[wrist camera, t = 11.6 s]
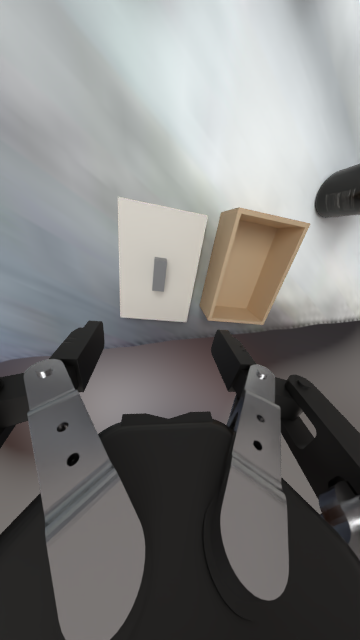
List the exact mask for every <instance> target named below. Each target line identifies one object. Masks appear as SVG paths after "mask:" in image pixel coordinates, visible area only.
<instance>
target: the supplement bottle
mask: <svg viewBox="0 0 360 640" xmlns="http://www.w3.org/2000/svg"><path fill="white" fill-rule="evenodd" d="M316 210H317V212H318V213H319V215H321V216H322V217H339V216H349V215H360V164H358V165H355V166H352V167H349V168H346V169H343V170H340V171H338V172H336V173H334V174H333V175H331V176H330V177H329V178H328V179H327V180H326V181H325V182H324V183H323V185H322V186H321V188H320V190H319V192H318V195H317V198H316Z"/></svg>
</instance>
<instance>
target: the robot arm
mask: <svg viewBox="0 0 360 640" xmlns="http://www.w3.org/2000/svg"><path fill="white" fill-rule="evenodd" d="M103 348H104V330H103V323H102V321H88V322H87V324H86V325H85V326H84V328H78V329H76V330H74V331H73V332H71V333H70V335H69V336H68V337H67V338H66V339H65V340H64V342H63V343H62V344H61V345H60V346H59V348H58V349H57V350H56V351H55V352H54V353H53V355H52V356H51V357H50V358H49V359H48V360H44V361H40V362H38V363H35V364H34V365H32V366H31V367H29V368H28V369H27V370H26V371H25V373H21V374H16V375H11V376H5V377H0V448H1V447H2V445H3V443H4V442H5V441H6V439H7V437H8V436H9V434H10V433H11V431H12V430H13V428H14V427H15V425H16V424H18V423H22V422H25V421H28V422H29V428H30V434H31V439H32V445H33V450H34V457H35V463H36V468H37V475H38V480H39V486H40V492H41V493H40V494H39V495H38V496H37V497H36V498H35V499H34V500H33V501H32V502H31V503H30V504H29V505H28V507H26V508H25V510H23V512H22V513H21V514H20V515H19V516H18V517H17V518H16V519H15V520H14V521H13V522H12V523H11V524H10V525H9V526H8V527H7V528H6V529H5V530H4V531H3V532H2V533H1V534H0V640H360V433H359V432H358V431H357V430H356V429H355V428H354V427H353V426H352V425H351V424H350V423H349V422H348V420H347V419H346V418H345V417H344V416H343V415H342V414H341V413H340V412H339V411H338V410H337V409H336V408H335V407H334V406H333V405H332V404H331V403H330V402H329V400H328V399H327V398H326V397H325V396H324V395H323V394H322V393H321V392H320V391H319V390H318V389H317V388H316V387H315V386H314V385H313V384H312V383H311V382H310V381H308V380H307V379H305V378H303V377H301V376H298V375H290V376H289V378H288V379H287V380H284V379H280V378H276V377H275V376H274V375H273V373H272V372H271V371H270V370H268V369H267V368H265V367H263V366H261V365H257V364H256V363H255V361H254V360H253V359H252V357H251V356H250V355H249V353H248V352H246V349H245V348H244V347H243V345H242V344H241V343H240V341H238V340H237V339H236V338H234V337H232V335H231V334H230V332H229V331H228V330H217V331H216V334H215V337H214V341H213V344H212V347H211V352H212V356H213V358H214V360H215V362H216V364H217V367H218V369H219V372H220V374H221V376H222V379H223V381H224V383H225V385H226V388H227V390H228V391H229V392H236V396H235V399H234V402H233V406H232V409H231V412H230V416H229V419H228V422H227V425H225V424H223V423H221V422H219V421H217V420H214V419H212V417H211V413H210V412H190V413H187V414H183V415H180V416H177V417H174V418H170V419H167V418H162V417H158V416H154V415H150V414H123V416H122V421H121V422H120V423H117V424H115V425H112V426H110V427H108V428H107V429H105V430H103V431H102V432H100V433H99V434H97V431H96V429H95V427H94V425H93V423H92V421H91V418H90V416H89V414H88V412H87V410H86V408H85V405H84V403H83V401H82V399H81V397H80V394H79V392H84V390H85V388H86V386H87V384H88V382H89V379H90V377H91V375H92V373H93V371H94V369H95V366H96V364H97V362H98V360H99V358H100V355H101V353H102V351H103ZM302 412H304V413H305V414H306V416H307V417H308V418H309V420H310V421H311V422H312V424H313V425H314V427H315V428H316V432H317V435H316V437H315V438H314V437H313V435H312V434H311V433H310V431H309V430H308V428H307V427H306V426H305V424H304V423H303V421H302V420H301V418H300V417H299V415H300V414H301V413H302ZM281 433H282V435H283V437H284V439H285V440H286V442H287V444H288V446H289V448H290V450H291V451H292V453H293V455H294V457H295V458H296V460H297V462H298V464H299V466H300V467H301V469H302V471H303V473H304V475H305V476H306V478H307V480H308V482H309V483H310V485H311V487H312V489H313V491H314V492H315V494H316V496H317V498H318V500H319V506H320V509H321V512H322V513H321V514H318V513H317V512H316V511H315V510H314V509H313V508H312V507H311V506H310V505H309V504H308V503H307V502H306V501H305V500H304V499H303V498H302V497H301V496H300V495H299V494H298V493H297V492H296V491H295V490H294V489H293V488H292V487H291V486H290V485H289V484H288V483H287V482H286V481H285V480H283V478H281Z"/></svg>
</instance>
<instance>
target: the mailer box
mask: <svg viewBox="0 0 360 640" xmlns="http://www.w3.org/2000/svg"><path fill="white" fill-rule="evenodd" d="M309 226H310V223H305V222H301V221H296V220H292V219H287V218H283V217H279V216H274V215H270V214H265V213H261V212H256V211H252V210H248V209H243V208H235V209H232V210H228V211H225V212H221V215H220V220H219V224H218V228H217V233H216V237H215V241H214V245H213V250H212V254H211V258H210V263H209V267H208V271H207V276H206V280H205V284H204V289H203V293H202V297H201V301H200V307H201V309H202V311H203V312H204V314H205V316H206V318H207V319H208V320H209V321H222V322H235V323H248V324H261V325H263V324H264V322H265V320H266V318H267V316H268V314H269V311H270V309H271V307H272V305H273V303H274V301H275V299H276V296H277V294H278V292H279V290H280V288H281V286H282V284H283V281H284V279H285V277H286V275H287V273H288V271H289V269H290V267H291V264H292V262H293V260H294V258H295V256H296V254H297V252H298V249H299V247H300V245H301V243H302V241H303V239H304V237H305V234H306V232H307V230H308V228H309Z"/></svg>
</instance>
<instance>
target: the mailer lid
mask: <svg viewBox="0 0 360 640" xmlns="http://www.w3.org/2000/svg"><path fill="white" fill-rule="evenodd" d="M207 218H208V215H203V214H198V213H193V212H188V211H184V210H179V209H174V208H169V207H165V206H160V205H155V204H150V203H146V202H141V201H136V200H131V199H126V198H122V197H118V228H119V273H120V317H124V318H137V319H150V320H164V321H177V322H187V317H188V312H189V307H190V302H191V297H192V292H193V287H194V282H195V277H196V272H197V267H198V263H199V258H200V253H201V248H202V243H203V238H204V233H205V228H206V223H207Z"/></svg>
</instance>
